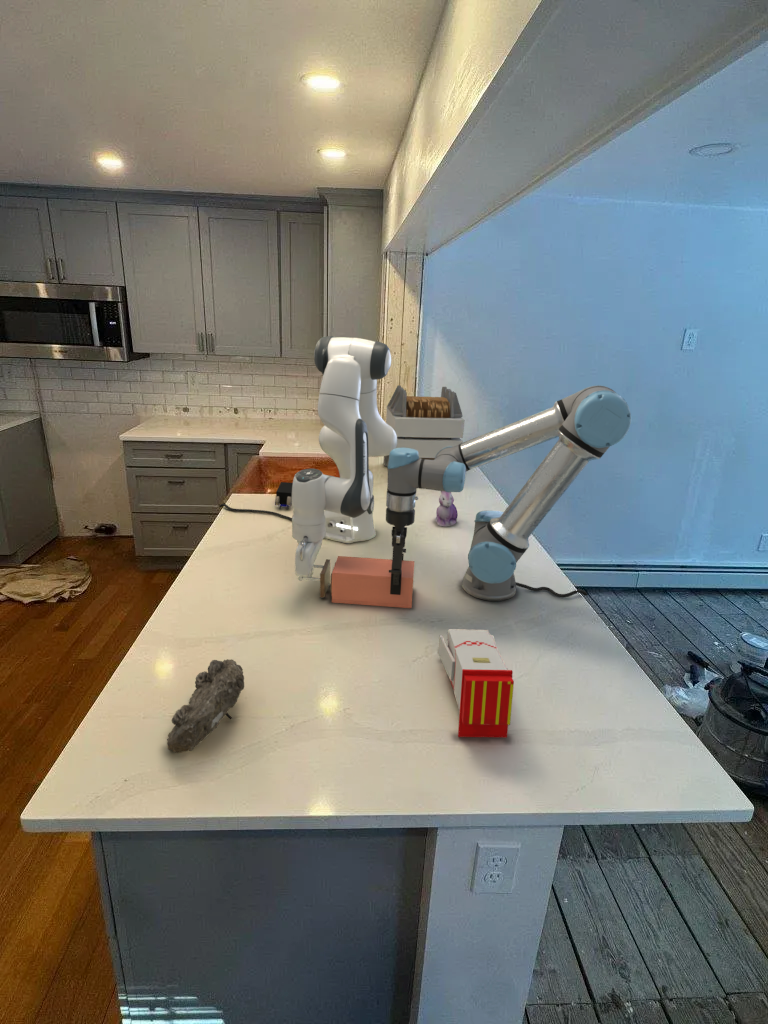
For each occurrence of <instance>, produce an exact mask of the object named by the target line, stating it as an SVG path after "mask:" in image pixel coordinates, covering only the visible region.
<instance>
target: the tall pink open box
mask: <svg viewBox="0 0 768 1024" xmlns="http://www.w3.org/2000/svg"><path fill="white" fill-rule="evenodd" d="M335 562H336V563H335ZM335 562H334V565H333V569H332V572H331V573H332V595H331V603H336V604H346V605H362V606H373V607H375V606H376V607H389V608H400V609H403V608H404V609H412V606H413V591H414V579H415V578H414V577H415V575H414V574H415V560H405V559H403V560H402V567H401V570H402V577H401V594H400V595H394V594H390V587H391V573H389V570H391V569H392V559H390V558H389V559H388V558H376V557H375V558H374V557H362V556H361V557H359V556H348V555H347V556H346V555H345V556H344V555H337V557H336V561H335Z"/></svg>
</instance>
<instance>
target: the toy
mask: <svg viewBox="0 0 768 1024" xmlns="http://www.w3.org/2000/svg"><path fill="white" fill-rule="evenodd" d="M446 640H447V643H446V641H445V639H444V636H443V635H442V634H439V637H438V646H437V656H438V657H439V659H440V661H441V663H442V666H443V668H444V670H445V672H446V674H447V677H448V679H449V681H450V684H451V687H452V690H453V693H454V697H455V701H456V705H457V708H458V711H459V714H458V715H459V716H458V730H457V731H458V732H457V737H458V738H508V731H509V726H510V725H511V717H512V707H513V697H514V696H513V695H514V684H515V680H514V679H513V673H514V671H513V670H512V669H508V667H507V665H506V662H505V661H504V659H503V658H502V655H501V653H500V651H499V649H498V647H497V643H496V639H495V637H494V635H493V634H491V632H490V631H489V629H467V628H466V629H465V628H463V629H461V628H460V629H459V628H448V630H447V639H446Z"/></svg>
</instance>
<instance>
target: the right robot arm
mask: <svg viewBox="0 0 768 1024" xmlns="http://www.w3.org/2000/svg"><path fill="white" fill-rule="evenodd" d="M631 424H632V413H631V409H630V406H629V404H628V402H627V401H626V400H625V398H624V397H622V395H620V394H619V393H617V392H616V391H615V390H613V389H612V388H610V387H608V386H604V385H591V386H588V387H585V388H583V389H581V390H579V391H577V392H575V393H573V394H570V395H567V396H566V397H563V398H562V399H558V400H556V401H554V404H553V406H552V407H549V408H546V409H545V410H542V411H539V412H537V413H534V414H532V415H529V416H526V417H524V418H523V419H519V420H517V421H514V422H512V423H509V424H506V425H504V426H501V427H499V428H497V429H494V430H492V431H488V432H486V433H483V434H481V435H479V436H476V437H473V438H471V439H469V440H465V441H463V443H461V444H459V445H456V446H453V447H450V446H449V447H445V448H443V449H442V450H440V451H439V452H438V453H437V455H436V457H435V459H434V460H427V459H421V458H419V453H418V451H417V450H415V449H410V448H395V449H393V450H392V451H391V452H390V454H389V463H388V467H387V484H386V485H387V486H386V487H387V488H386V499H385V506H386V508H385V522H386V523H387V524H388V525H390V526H392V527H391V547H392V557H391V558H392V559H391V560H392V569H391V570H389V573H391V587H390V594H394V595H400V594H401V577H402V570H401V567H402V560H404V556H405V553H407V548H405V547H406V538H407V535H408V527H409V526H412V525H413V524H414V523H415V518H416V517H415V516H416V509H415V508H416V501H418V500H419V497H418V496H416V495H417V489H421V490H422V489H423V490H429V491H437V492H439V491H440V492H441V491H446V492H451V493H461V492H463V490H464V486H465V481H466V474H467V473H466V472H468V471H471V470H473V469H476V468H479V467H482V466H484V465H487V464H490V463H492V462H495V461H497V460H501V459H502V458H505V457H508V456H510V455H514V454H516V453H519V452H522V451H523V450H524V451H525V450H527V449H529V448H532V447H536V446H537V445H540V444H543V443H545V442H548V441H551V440H553V439H557V438H558V440H557V441H556V443H555V444H554V445H553V446H552V448H551V449H550V450H549V451H548V453H547V455H546V456H545V457H544V459H542V461H541V462H540V464H539V465H538V466H537V468H536V469H535V471H534V472H533V473H532V474H531V476H530V477H529V478H528V480H527V481H526V482H525V483H524V485H523V486H522V487H521V489H520V490H519V492H518V493H517V494H516V495H515V497H514V498H513V499H512V501H511V502H510V503H509V505H508V506H506V509H505V510H504V511H499V510H481V511H479V512H477V513H476V514H475V518H474V521H473V522H474V528H473V534H472V535H473V536H472V540H471V544H470V549H469V550H468V554H467V560H468V561H467V562H468V566H467V568H466V571H465V573H464V575H463V578H462V580H461V581H462V583H461V587H462V589H463V591H464V592H465V593H467V595H470V596H472V597H474V598H477V599H479V600H484V601H491V602H499V601H500V602H501V601H506V600H509V599H511V598H513V597H514V596H515V595H516V592H517V587H520V588H523V589H525V590H529V591H532V592H540V591H547V592H549V593H550V594H551V595H553V596H554V597H556V598H562V599H563V598H569V597H572V596H574V595H576V594H581V595H583V596H585V597H586V596H587V597H588V593H587V592H586V591H585V590H583V589H581V588H580V589H575V590H572V591H570V592H568V593H558V592H556V591H555V590H553V589H552V588H550V587H547V586H539V587H533V586H530V585H527V584H524V583H521V582H518V581H516V578H515V577H516V576H515V571H516V569H517V563H518V561H519V560H520V559H521V558H522V557H523V555H524V554H525V553H526V552H527V550H528V549H529V548H530V542H529V538H530V536H531V535H532V534H533V532H535V530H536V529H537V528H538V526H539V525H540V524H541V523H542V521H544V520H545V517H547V515H548V514H549V513H550V511H551V510H552V509H553V507H554V506H555V505H556V504H557V503H558V501H559V500H560V499H561V498H562V497H563V496H564V494H565V492H566V491H567V490H568V488H569V487H570V486H571V485H572V484H573V482H574V481H575V480H576V479H577V477H578V476H579V475H580V474H581V472H582V471H583V470H584V468H585V467H586V466H587V465H588V464H589V463H590V462H591V461H595V460H600V459H601V458H602V457H603V456H604V454H605V453H606V452H607V451H608V450H609V448H610V447H612V446H614V445H616V444H617V443H619V442H620V441H622V440H623V439H624V438H625V436H626V435H627V434H628V432H629V430H630V427H631ZM576 590H577V591H576ZM577 592H578V593H577Z"/></svg>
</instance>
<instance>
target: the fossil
mask: <svg viewBox="0 0 768 1024" xmlns="http://www.w3.org/2000/svg"><path fill="white" fill-rule="evenodd" d="M243 670H244V669H243V667H242V665H240V664H237V662H236V661H235V660H234V659H232V658H231V659H227V658H226V659H224V660H223V661H222V660H217V659H212V660H211V661H210V663H209V665H208V666H207V671H201V672H199V673H198V674H197V675H196V676H195V680H194V684H195V685H194V687H195V689H194V690H193V693H192V694H191V697H190V698H189V700H188V704H184V705H182V706H181V707H180V709H177V710H176V711H175V713H174V715H173V716H172V718H171V723H172V724H173V727H172V730H171V731H170V732H168V734H167V738H166V741H167V742H166V745H167V749H168V750H169V751H173V752H174V753H176V754H178V753H182V752H188V751H189V752H192V751H193V750H195V748H196V747H197V746H199V744H200V743H201V742H203V741H204V740H205V739H206V738H207V737H208V736H209V735H210V734H211V733H212V732H214V730H215V729H217V727H218V726H219V724H220V722H221V721H222V720H223V719H224V718H225V716H226V717H227V719H229V720H233V717H232V715H230V714H229V710H230V709H231V708H234V706H235V704H236V703H237V702H238V699H239V697H240V695H241V693H242V691H243V690H245V689H244V688H245V675H244V671H243Z"/></svg>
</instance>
